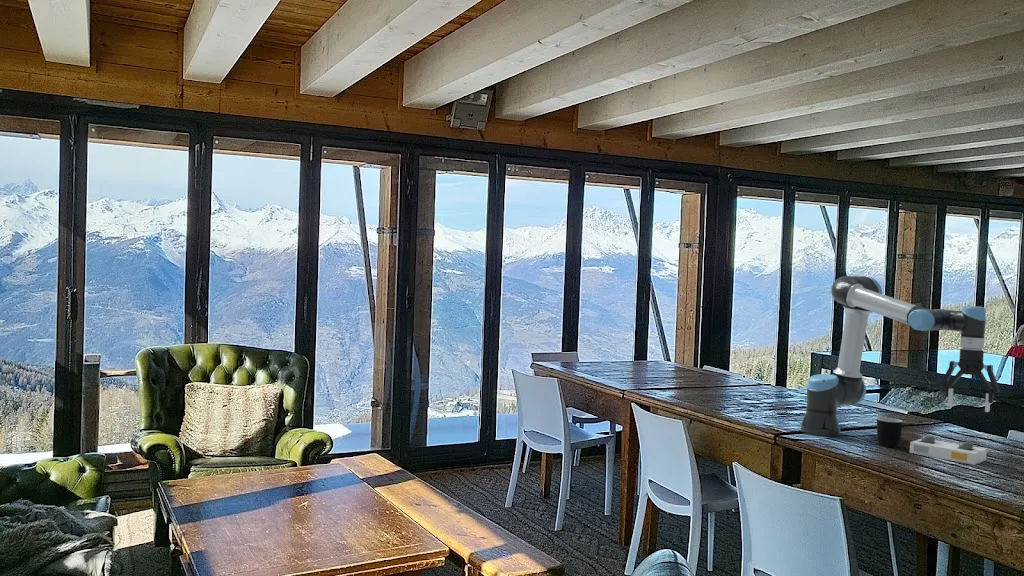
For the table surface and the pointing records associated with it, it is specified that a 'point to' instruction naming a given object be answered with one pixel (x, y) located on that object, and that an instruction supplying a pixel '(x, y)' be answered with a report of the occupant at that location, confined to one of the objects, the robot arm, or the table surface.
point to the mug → (889, 432)
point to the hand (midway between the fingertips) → (968, 408)
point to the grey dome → (966, 446)
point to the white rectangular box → (948, 451)
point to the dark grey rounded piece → (928, 439)
